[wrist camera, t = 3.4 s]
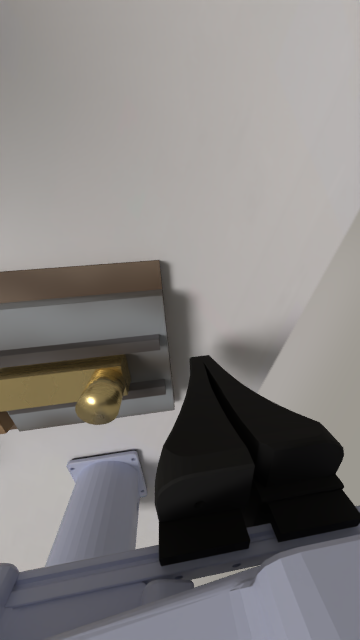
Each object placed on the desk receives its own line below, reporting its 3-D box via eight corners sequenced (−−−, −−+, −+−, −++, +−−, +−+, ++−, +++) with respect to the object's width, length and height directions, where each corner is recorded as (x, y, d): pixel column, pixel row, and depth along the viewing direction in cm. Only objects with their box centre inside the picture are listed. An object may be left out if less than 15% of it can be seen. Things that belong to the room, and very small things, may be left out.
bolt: (132, 379, 13) (122, 422, 9) (18, 393, 12) (-34, 444, 9) (126, 352, 12) (113, 390, 9) (3, 366, 11) (-61, 412, 8)
